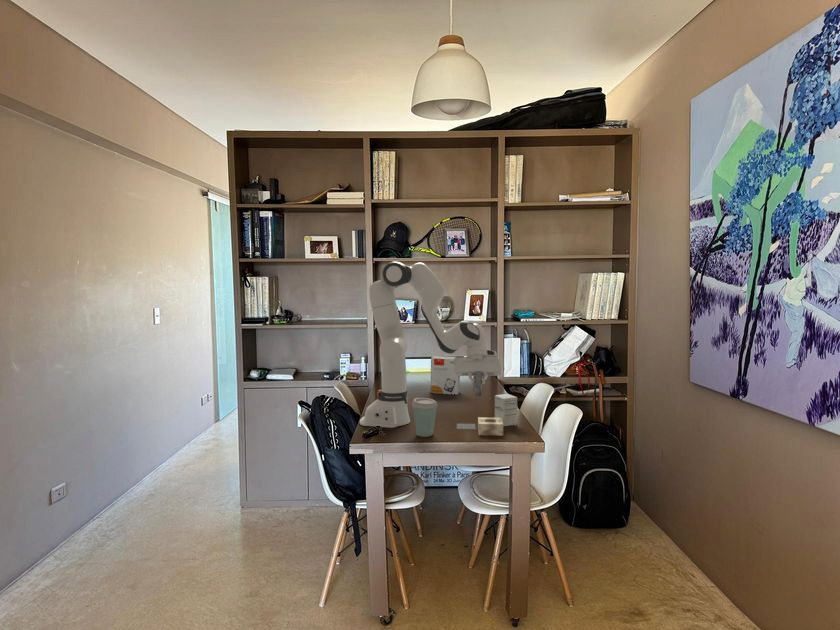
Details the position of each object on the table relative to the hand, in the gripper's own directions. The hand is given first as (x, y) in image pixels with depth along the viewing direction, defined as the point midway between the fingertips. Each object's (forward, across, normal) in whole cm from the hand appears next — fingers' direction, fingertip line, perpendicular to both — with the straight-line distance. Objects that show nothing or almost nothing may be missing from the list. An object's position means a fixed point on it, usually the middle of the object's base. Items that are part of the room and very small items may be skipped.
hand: (478, 383), depth 225 cm
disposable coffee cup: (+21, -22, +7) cm, 31 cm away
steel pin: (+3, 0, +4) cm, 5 cm away
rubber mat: (+12, -5, +17) cm, 21 cm away
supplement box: (+8, +12, +21) cm, 26 cm away
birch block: (+17, +5, +12) cm, 21 cm away
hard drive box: (-35, -16, +63) cm, 74 cm away
